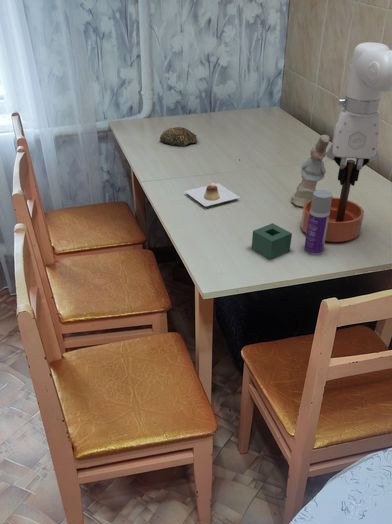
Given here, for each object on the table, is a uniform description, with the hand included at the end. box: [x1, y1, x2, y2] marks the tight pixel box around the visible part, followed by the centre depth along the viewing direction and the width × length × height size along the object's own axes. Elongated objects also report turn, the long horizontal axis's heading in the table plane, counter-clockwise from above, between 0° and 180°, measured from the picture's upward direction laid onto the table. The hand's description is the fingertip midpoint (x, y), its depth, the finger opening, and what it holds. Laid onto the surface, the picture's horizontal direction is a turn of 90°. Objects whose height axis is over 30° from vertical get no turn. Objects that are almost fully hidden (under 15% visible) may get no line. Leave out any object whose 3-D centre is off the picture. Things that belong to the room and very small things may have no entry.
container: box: [303, 189, 333, 256], centre depth 131 cm, size 5×5×15 cm
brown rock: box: [159, 126, 198, 147], centre depth 196 cm, size 13×12×5 cm
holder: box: [251, 222, 293, 260], centre depth 135 cm, size 7×7×5 cm
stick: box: [336, 159, 356, 222], centre depth 137 cm, size 2×2×16 cm
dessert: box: [183, 181, 241, 208], centre depth 158 cm, size 12×12×5 cm
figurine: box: [291, 134, 331, 208], centre depth 152 cm, size 9×8×20 cm
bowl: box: [300, 196, 365, 243], centre depth 143 cm, size 15×15×6 cm
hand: (346, 182), depth 135 cm, fingers closed on stick, 2 cm apart
